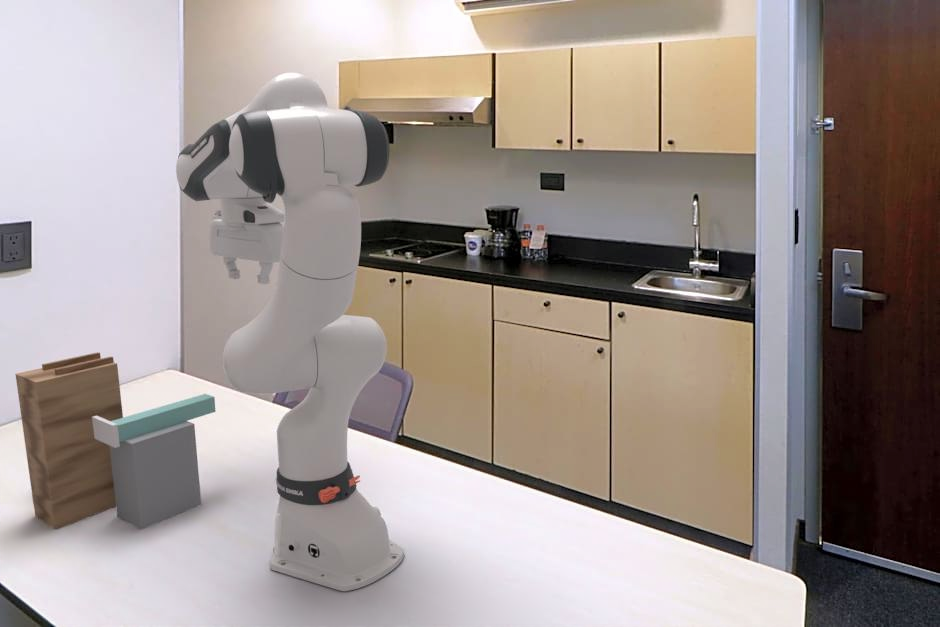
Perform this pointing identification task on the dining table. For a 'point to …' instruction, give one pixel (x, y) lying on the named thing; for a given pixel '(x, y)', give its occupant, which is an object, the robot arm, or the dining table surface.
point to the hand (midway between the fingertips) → (248, 281)
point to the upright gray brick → (156, 475)
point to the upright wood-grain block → (69, 436)
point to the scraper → (151, 419)
